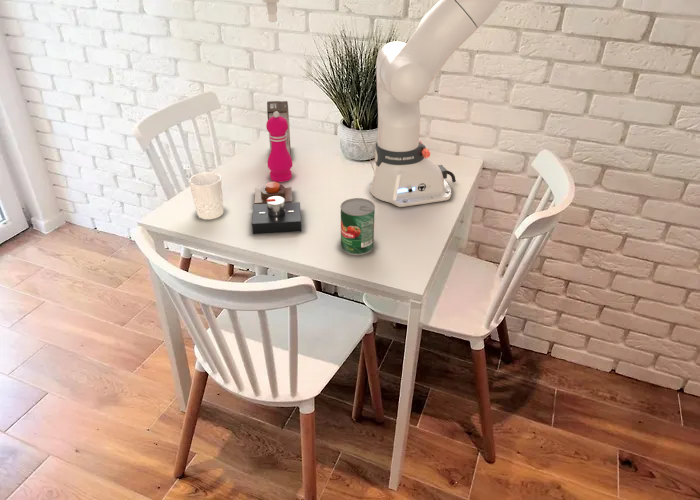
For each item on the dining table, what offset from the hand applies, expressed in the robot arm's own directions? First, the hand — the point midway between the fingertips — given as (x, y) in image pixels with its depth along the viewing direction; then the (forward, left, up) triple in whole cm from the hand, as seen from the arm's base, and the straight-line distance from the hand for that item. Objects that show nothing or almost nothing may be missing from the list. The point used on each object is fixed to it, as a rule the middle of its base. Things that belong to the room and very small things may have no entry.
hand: (273, 17), depth 129 cm
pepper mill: (+1, -12, -47) cm, 49 cm away
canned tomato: (-17, +27, -47) cm, 56 cm away
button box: (+3, +2, -47) cm, 47 cm away
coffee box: (+1, -28, -47) cm, 55 cm away
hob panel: (+2, +14, -47) cm, 49 cm away
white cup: (+20, +7, -47) cm, 51 cm away
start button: (+3, +2, -44) cm, 44 cm away
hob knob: (+2, +14, -44) cm, 46 cm away
